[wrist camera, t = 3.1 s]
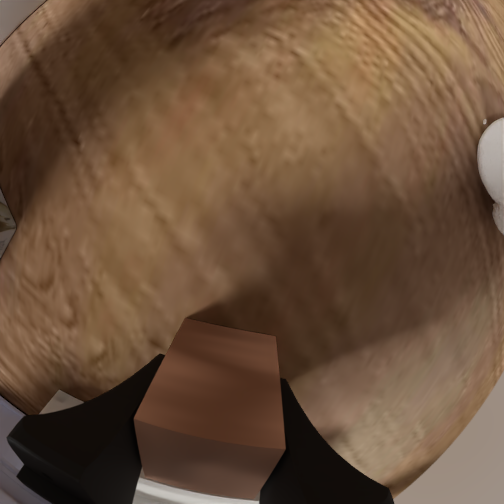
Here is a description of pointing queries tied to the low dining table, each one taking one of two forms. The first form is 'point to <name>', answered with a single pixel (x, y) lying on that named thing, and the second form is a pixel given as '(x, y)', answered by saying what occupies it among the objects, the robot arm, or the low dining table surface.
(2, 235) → the coffee box
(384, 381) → the low dining table surface
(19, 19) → the medicine bottle
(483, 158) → the dumpling
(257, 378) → the copper brown block
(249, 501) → the bin
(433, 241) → the low dining table surface
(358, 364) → the low dining table surface
